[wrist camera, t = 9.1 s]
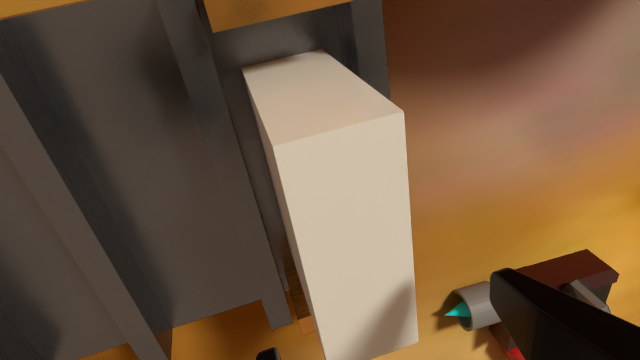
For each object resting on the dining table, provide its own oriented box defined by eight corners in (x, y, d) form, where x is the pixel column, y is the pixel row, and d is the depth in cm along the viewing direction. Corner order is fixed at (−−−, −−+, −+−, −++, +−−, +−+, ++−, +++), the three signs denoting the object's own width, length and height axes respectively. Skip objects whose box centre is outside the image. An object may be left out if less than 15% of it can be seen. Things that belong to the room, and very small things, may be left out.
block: (349, 221, 19) (418, 342, 13) (287, 240, 19) (329, 373, 13) (321, 48, 15) (403, 111, 9) (241, 68, 15) (272, 146, 9)
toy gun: (435, 280, 25) (482, 346, 21) (602, 232, 27) (676, 283, 23) (430, 379, 30) (467, 447, 26) (572, 332, 32) (628, 388, 28)
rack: (381, 246, 22) (416, 299, 18) (35, 356, 19) (1, 442, 16) (344, -54, 15) (390, -57, 11) (-215, 63, 12) (-373, 105, 9)
